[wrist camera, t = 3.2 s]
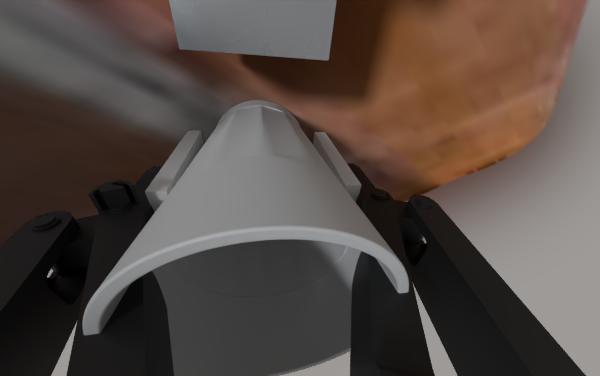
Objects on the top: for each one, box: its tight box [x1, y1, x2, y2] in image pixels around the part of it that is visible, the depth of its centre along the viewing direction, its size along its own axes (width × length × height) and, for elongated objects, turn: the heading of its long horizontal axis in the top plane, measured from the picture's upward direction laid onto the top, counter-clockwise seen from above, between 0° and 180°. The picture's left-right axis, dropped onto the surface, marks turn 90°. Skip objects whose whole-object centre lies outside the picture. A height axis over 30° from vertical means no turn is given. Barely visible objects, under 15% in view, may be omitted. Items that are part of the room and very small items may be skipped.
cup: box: [82, 100, 409, 376], centre depth 11 cm, size 8×8×12 cm
